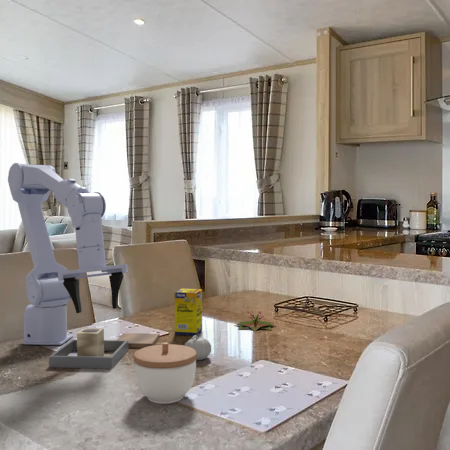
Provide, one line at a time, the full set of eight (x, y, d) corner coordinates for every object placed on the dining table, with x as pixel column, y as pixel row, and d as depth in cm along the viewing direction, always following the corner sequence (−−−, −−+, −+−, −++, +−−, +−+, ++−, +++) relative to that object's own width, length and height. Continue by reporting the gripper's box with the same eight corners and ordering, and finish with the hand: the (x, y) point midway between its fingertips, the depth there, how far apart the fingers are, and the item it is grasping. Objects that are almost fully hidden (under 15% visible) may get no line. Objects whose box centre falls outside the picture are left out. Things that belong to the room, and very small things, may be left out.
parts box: (77, 361, 109) (76, 332, 109) (84, 355, 113) (84, 327, 113) (97, 361, 109) (97, 333, 108) (104, 355, 113) (103, 328, 113)
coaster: (113, 347, 119) (113, 343, 119) (123, 337, 128) (123, 333, 128) (152, 347, 119) (152, 343, 119) (159, 337, 128) (159, 333, 128)
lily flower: (277, 323, 145) (277, 307, 145) (277, 333, 133) (277, 316, 133) (234, 322, 146) (234, 306, 146) (231, 333, 134) (231, 315, 134)
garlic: (190, 364, 107) (190, 339, 106) (180, 357, 111) (180, 333, 111) (216, 360, 109) (216, 336, 109) (205, 353, 114) (205, 330, 114)
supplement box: (197, 336, 129) (196, 292, 129) (174, 334, 130) (173, 291, 130) (202, 330, 135) (202, 288, 135) (180, 329, 136) (180, 288, 136)
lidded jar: (136, 387, 94) (136, 335, 93) (196, 385, 94) (195, 334, 94) (131, 410, 83) (130, 353, 82) (197, 408, 84) (197, 351, 83)
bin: (49, 367, 105) (49, 356, 105) (72, 349, 118) (72, 339, 118) (112, 368, 104) (112, 357, 104) (128, 350, 117) (128, 340, 117)
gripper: (51, 251, 107) (58, 316, 107) (122, 243, 109) (128, 307, 108) (60, 251, 114) (66, 313, 114) (126, 244, 116) (132, 305, 115)
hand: (97, 310), depth 111 cm, fingers open, 7 cm apart
